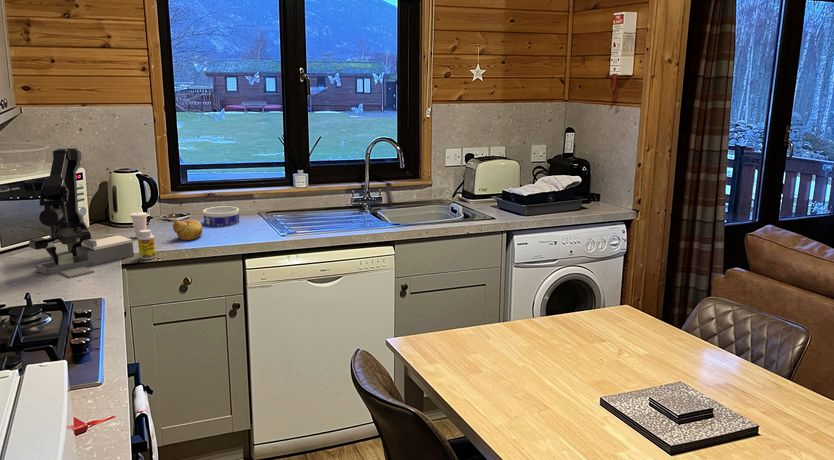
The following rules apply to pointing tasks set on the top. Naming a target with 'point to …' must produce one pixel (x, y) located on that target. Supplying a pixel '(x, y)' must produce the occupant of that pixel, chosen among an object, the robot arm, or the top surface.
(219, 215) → the dog bowl
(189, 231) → the bread roll
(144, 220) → the smoothie
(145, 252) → the supplement bottle
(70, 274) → the pad
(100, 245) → the cover
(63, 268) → the grey long stepped bar
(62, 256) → the block
